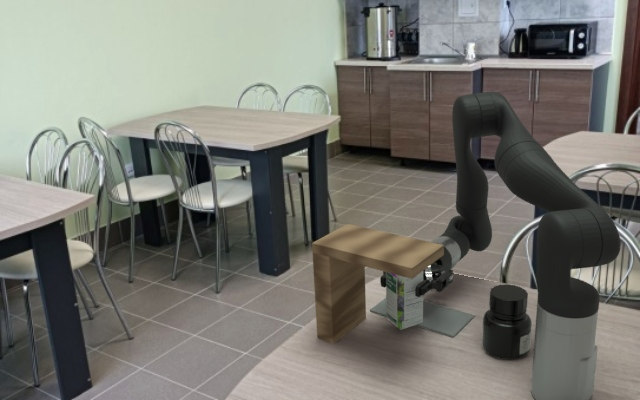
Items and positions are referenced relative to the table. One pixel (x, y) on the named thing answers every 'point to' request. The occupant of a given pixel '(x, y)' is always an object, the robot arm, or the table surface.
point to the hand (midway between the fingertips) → (399, 287)
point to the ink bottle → (507, 323)
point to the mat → (436, 318)
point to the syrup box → (403, 300)
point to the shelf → (359, 272)
